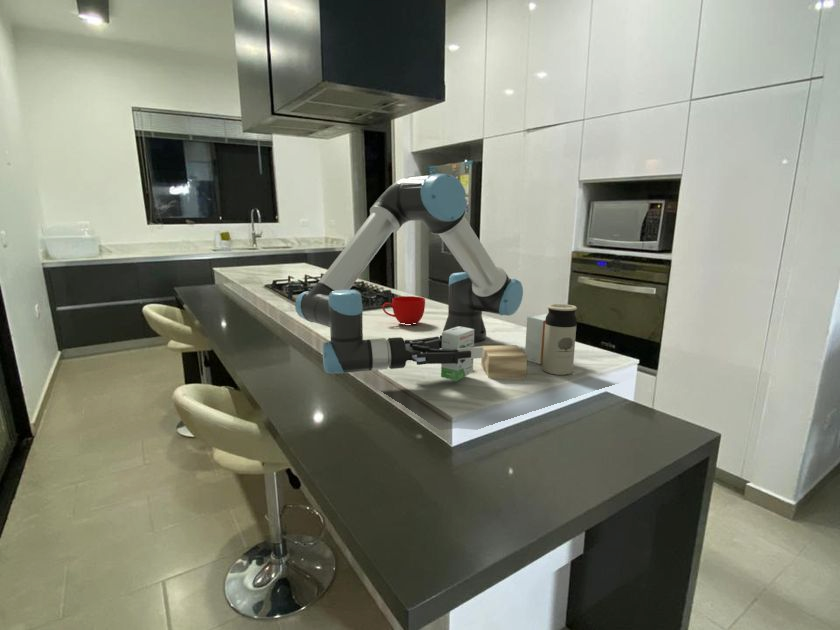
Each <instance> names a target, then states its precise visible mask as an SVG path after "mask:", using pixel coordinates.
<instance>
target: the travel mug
mask: <svg viewBox="0 0 840 630" xmlns="http://www.w3.org/2000/svg"><path fill="white" fill-rule="evenodd" d="M547 309H548V313H546V314H547V316H546V320H545V335H544V351H543V364H542V366H541V368H542V369H541V370H542V371H544V372H545V373H548V374H551V375H554V374H555V375H556V376H568V375H570V374H572V373H574V360H575V348H576V336H577V335H576V332H577V325H578V319H577V316H576V311H577V309H578V307H577V306H576V305H572V304H566V303H550V304H547ZM567 374H568V375H567Z"/></svg>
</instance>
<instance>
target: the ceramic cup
mask: <svg viewBox="0 0 840 630" xmlns="http://www.w3.org/2000/svg"><path fill="white" fill-rule="evenodd" d="M387 305H388V306H391V308H392V313H393V314H392V313H389V312H388V311H386V309H385V307H386V306H387ZM425 308H426V298H424V297H420V296H409V295H408V296H407V295H406V296H396V297H393V298H392V299H391V303H390V302H385V303H383V305H382V310H383V312H384V314H386V315H387V316H389V317H394V318H395V319H396V320H397V322H398V323H399V322H400V323H405V324H413V323H417V324H418V323H419V322H420V321H421V319H422V318H423V316H424V313H425Z"/></svg>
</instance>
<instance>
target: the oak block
mask: <svg viewBox="0 0 840 630" xmlns="http://www.w3.org/2000/svg"><path fill="white" fill-rule="evenodd" d="M481 346H482V347H483V357H482V358H480V359H481V360H480V366H481V369H483V372H484V373H485V375H486V377H487V378H492V379H493V378H526V377H527V369H528V368H527V365H528V360H527V355H526V354H525V352H524V351H523V350H522V349H521V348H520V347H519V346H518V345H516V344H515V345H481Z"/></svg>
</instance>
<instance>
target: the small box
mask: <svg viewBox="0 0 840 630" xmlns="http://www.w3.org/2000/svg"><path fill="white" fill-rule="evenodd" d="M547 314H548V313H544V314H535V315H532V316H527V317H526V330H525V331H526V332H525V333H526V334H525V348H524V351H525V352H524V353H525V354H526V355H527V361H529V362H532V363H535V364H538V365H543V351H544V335H545V320H546V316H547Z"/></svg>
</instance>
